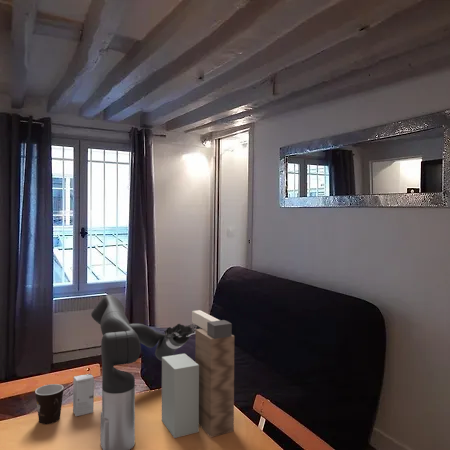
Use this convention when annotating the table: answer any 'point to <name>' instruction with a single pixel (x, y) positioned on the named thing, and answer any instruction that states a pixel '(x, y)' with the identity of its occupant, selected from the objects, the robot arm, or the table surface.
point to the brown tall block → (215, 382)
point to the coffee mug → (49, 403)
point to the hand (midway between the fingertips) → (191, 324)
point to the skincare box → (83, 394)
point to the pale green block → (180, 395)
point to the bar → (212, 324)
